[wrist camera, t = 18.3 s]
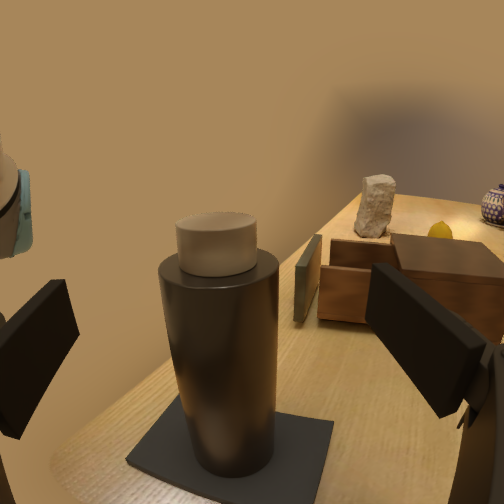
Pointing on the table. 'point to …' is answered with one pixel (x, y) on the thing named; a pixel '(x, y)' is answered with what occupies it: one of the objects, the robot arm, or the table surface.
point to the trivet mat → (246, 488)
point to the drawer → (338, 278)
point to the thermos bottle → (224, 339)
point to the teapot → (494, 207)
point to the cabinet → (456, 278)
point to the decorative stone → (375, 206)
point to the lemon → (440, 231)
